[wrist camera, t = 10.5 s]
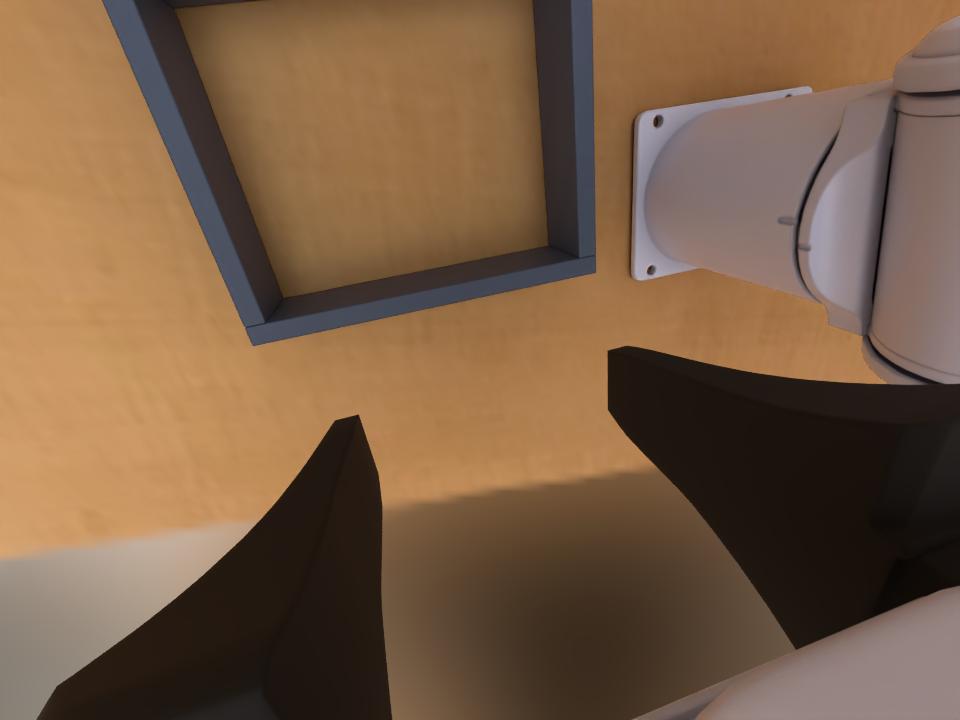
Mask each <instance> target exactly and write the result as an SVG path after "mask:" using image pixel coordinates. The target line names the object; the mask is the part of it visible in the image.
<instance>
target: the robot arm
mask: <svg viewBox="0 0 960 720" xmlns="http://www.w3.org/2000/svg"><path fill="white" fill-rule="evenodd" d="M655 117H657V118H658V125H657V126H656V127H655V126H654V124H653V121H654V118H655ZM649 266H651V270H650V272H649V273H647V269H648V267H649ZM698 268H703V269H706V270H709V271H713V272H716V273H720V274H723V275H726V276H730V277H733V278H736V279H740V280H743V281H746V282H750V283H753V284H757V285H760V286H763V287H767V288H770V289H773V290H777V291H780V292H784V293H787V294H790V295H794V296H797V297H800V298H804V299H807V300H811V301H814V302H817V303H821V304H823V305H824V306H825V307H826V309H827V312H828V323H829V325H831V326H834V327H837V328H840V329H843V330H846V331H849V332H852V333H855V334H858V335H861V336H863V339H862V347H861V350H862V354H863V357H864V360H865V362H866V363H867V365H868V366H869V368H870V369H871V370H872V371H873V372H874V373H875V374H876V375H877V376H879V377H880V378H881V379H883V380H884V381H886V382H887V383H889V384H861V383H841V382H828V381H815V380H804V379H795V378H787V377H780V376H772V375H765V374H758V373H752V372H746V371H741V370H736V369H731V368H726V367H721V366H716V365H712V364H707V363H703V362H698V361H694V360H690V359H686V358H682V357H678V356H674V355H670V354H665V353H661V352H657V351H653V350H648V349H644V348H638V347H632V346H624V347H620V348H616V349H612V350H609V351H608V410H609V412H610V413H611V415H612V416H613V418H614V419H615V420H616V422H617V423H618V425H619V426H620V427H621V429H622V430H623V431H624V433H625V434H626V435H627V436H628V437H629V439H630V440H631V441H632V442H633V443H634V444H635V445H636V446H637V447H638V448H639V449H640V450H641V451H642V452H643V453H644V454H645V455H646V456H647V457H648V458H649V459H650V460H651V461H652V462H653V463H654V464H655V465H656V467H657V468H658V469H659V470H660V471H661V472H662V473H663V474H664V475H666V477H667V478H668V479H669V480H670V481H671V482H672V483H673V484H674V485H675V486H676V487H677V488H678V489H679V490H680V491H681V492H682V493H683V494H684V496H685V497H686V498H687V499H688V500H689V501H690V502H691V503H692V505H693V506H694V507H695V508H696V509H697V511H698V512H699V513H700V514H701V516H702V517H703V518H704V519H705V521H706V522H707V523H708V524H709V526H710V527H711V528H712V530H713V531H714V532H715V534H716V535H717V536H718V537H719V539H720V540H721V542H722V543H723V544H724V546H725V547H726V548H727V550H728V551H729V552H730V553H731V555H732V556H733V558H734V559H735V560H736V562H737V563H738V564H739V566H740V567H741V569H742V570H743V571H744V573H745V574H746V576H747V577H748V579H749V580H750V581H751V583H752V584H753V585H754V587H755V589H756V590H757V591H758V593H759V594H760V596H761V597H762V599H763V600H764V601H765V603H766V604H767V606H768V607H769V609H770V610H771V612H772V613H773V615H774V616H775V618H776V620H777V621H778V623H779V624H780V626H781V627H782V629H783V630H784V632H785V633H786V635H787V637H788V638H789V640H790V641H791V643H792V644H793V646H794V647H795V649H796V650H795V651H793V652H790V653H788V654H786V655H783V656H781V657H779V658H776V659H774V660H772V661H770V662H767V663H765V664H762V665H760V666H758V667H755V668H753V669H750V670H748V671H746V672H743V673H741V674H739V675H736V676H734V677H732V678H729V679H727V680H724V681H722V682H720V683H718V684H715V685H713V686H710V687H708V688H706V689H703V690H701V691H699V692H696V693H694V694H692V695H689V696H687V697H685V698H682V699H680V700H677V701H675V702H673V703H670V704H668V705H666V706H663V707H661V708H659V709H656V710H654V711H652V712H649V713H647V714H644V715H642V716H640V717H637V718H635V719H633V720H960V15H958V16H956V17H954V18H952V19H950V20H947V21H945V22H943V23H942V24H940V25H938V26H937V27H935V28H934V29H933V30H932V31H931V32H930V33H929V34H928V35H927V36H926V37H925V38H924V39H923V40H922V41H921V42H920V43H919V44H918V45H917V46H916V47H915V48H914V49H913V50H912V51H910V52H908V53H906V54H905V55H904V56H903V57H902V58H901V59H900V60H899V61H898V62H897V64H896V66H895V72H894V78H892V79H886V80H880V81H875V82H869V83H864V84H858V85H852V86H847V87H841V88H836V89H830V90H824V91H819V92H813V91H812V88H810V87H809V86H804V87H798V88H791V89H785V90H778V91H772V92H765V93H759V94H752V95H746V96H739V97H733V98H726V99H720V100H713V101H707V102H700V103H694V104H687V105H681V106H674V107H668V108H661V109H655V110H648V111H644V112H642V113H640V114H639V115H638V116H637V118H636V120H635V125H634V163H633V203H632V244H631V276H632V277H633V279H635V280H638V281H644V280H648V279H653V278H658V277H662V276H667V275H671V274H676V273H680V272H685V271H689V270H694V269H698ZM381 566H382V500H381V491H380V482H379V474H378V471H377V468H376V465H375V462H374V459H373V456H372V453H371V450H370V447H369V444H368V441H367V438H366V435H365V432H364V429H363V426H362V423H361V420H360V417H359V415H355V416H351V417H347V418H343V419H339V420H335V421H334V423H333V424H332V426H331V427H330V429H329V430H328V432H327V433H326V435H325V436H324V438H323V439H322V441H321V442H320V444H319V445H318V447H317V448H316V450H315V451H314V453H313V454H312V456H311V457H310V459H309V460H308V461H307V463H306V464H305V466H304V467H303V469H302V470H301V471H300V473H299V474H298V475H297V476H296V478H295V479H294V480H293V482H292V483H291V484H290V485H289V487H288V488H287V489H286V491H285V492H284V493H283V494H282V496H281V497H280V498H279V499H278V501H277V502H276V503H275V504H274V505H273V506H272V508H271V509H270V510H269V511H268V512H267V513H266V514H265V516H264V517H263V518H262V519H261V520H260V521H259V522H258V523H257V524H256V525H255V526H254V527H253V528H252V529H251V530H250V531H249V532H248V534H247V535H246V536H245V537H244V538H243V539H242V540H241V541H240V542H238V543H237V544H236V545H235V546H234V547H233V548H232V549H231V550H230V551H229V552H228V553H227V554H226V555H224V556H223V557H222V558H221V559H220V560H219V561H218V562H217V563H216V564H215V565H214V566H213V567H212V568H211V569H209V570H208V571H207V572H206V573H205V574H204V575H203V576H202V577H201V578H199V579H198V580H197V581H196V582H195V583H194V584H192V585H191V586H190V587H189V588H188V589H186V590H185V591H184V592H183V593H182V594H180V595H179V596H178V597H177V598H176V599H174V600H173V601H172V602H171V603H170V604H168V605H167V606H166V607H164V608H163V609H162V610H161V611H160V612H158V613H157V614H156V615H154V616H153V617H152V618H151V619H150V620H148V621H147V622H145V623H144V624H143V625H141V626H140V627H139V628H137V629H136V630H135V631H134V632H132V633H131V634H129V635H128V636H127V637H125V638H124V639H123V640H121V641H120V642H118V643H117V644H116V645H114V646H113V647H111V648H110V649H109V650H107V651H106V652H105V653H103V654H102V655H100V656H99V657H98V658H96V659H95V660H94V661H92V662H91V663H90V664H88V665H87V666H85V667H84V668H82V669H81V670H80V671H78V672H77V673H75V674H74V675H73V676H71V677H70V678H68V679H67V680H65V681H64V682H62V683H61V684H60V685H58V686H57V687H56V689H55V690H54V692H53V693H52V695H51V697H50V698H49V700H48V701H47V703H46V705H45V706H44V708H43V710H42V712H41V713H40V715H39V716H38V718H37V720H392V714H391V704H390V694H389V684H388V673H387V663H386V653H385V641H384V630H383V617H382V603H381V602H382V600H381Z"/></svg>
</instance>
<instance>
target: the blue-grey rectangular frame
mask: <svg viewBox="0 0 960 720" xmlns="http://www.w3.org/2000/svg"><path fill="white" fill-rule="evenodd" d="M242 1H252V0H102V2H103V4H104V6H105V8H106V11H107V13H108V15H109V18H110V20H111V22H112V24H113V27H114V29H115V31H116V34H117V36H118V38H119V41H120V43H121V45H122V47H123V50H124V52H125V54H126V57H127V59H128V61H129V63H130V66H131V68H132V70H133V73H134V75H135V77H136V80H137V82H138V84H139V86H140V89H141V91H142V93H143V96H144V98H145V100H146V102H147V105H148V107H149V109H150V112H151V114H152V116H153V119H154V121H155V123H156V125H157V128H158V130H159V132H160V135H161V137H162V139H163V141H164V144H165V146H166V148H167V151H168V153H169V155H170V157H171V160H172V162H173V164H174V167H175V169H176V171H177V174H178V176H179V178H180V180H181V183H182V185H183V187H184V190H185V192H186V194H187V196H188V199H189V201H190V203H191V206H192V208H193V210H194V213H195V215H196V217H197V219H198V222H199V224H200V226H201V229H202V231H203V233H204V235H205V238H206V240H207V242H208V245H209V247H210V249H211V252H212V254H213V256H214V258H215V261H216V263H217V265H218V268H219V270H220V272H221V274H222V277H223V279H224V281H225V284H226V286H227V288H228V291H229V293H230V295H231V297H232V300H233V302H234V304H235V307H236V309H237V311H238V313H239V316H240V318H241V320H242V323H243V325H244V327H246V328H245V329H246V332H247V334H248V336H249V339H250V341H251V343H252V345H253V346H256V345H260V344H265V343H270V342H275V341H279V340H284V339H289V338H293V337H298V336H303V335H307V334H312V333H317V332H321V331H326V330H331V329H335V328H340V327H345V326H349V325H354V324H359V323H363V322H368V321H373V320H377V319H382V318H387V317H391V316H396V315H401V314H405V313H410V312H415V311H419V310H424V309H429V308H433V307H438V306H443V305H447V304H452V303H457V302H461V301H466V300H471V299H475V298H480V297H485V296H489V295H494V294H499V293H503V292H508V291H513V290H518V289H522V288H527V287H532V286H536V285H541V284H546V283H550V282H555V281H560V280H564V279H569V278H574V277H578V276H583V275H588V274H592V273H596V256H595V255H596V234H595V164H594V94H593V24H592V0H533V10H534V25H535V40H536V55H537V71H538V86H539V101H540V117H541V132H542V147H543V163H544V178H545V193H546V209H547V224H548V239H549V245H550V246H545V247H540V248H535V249H530V250H525V251H520V252H515V253H510V254H505V255H500V256H495V257H490V258H485V259H480V260H475V261H470V262H465V263H460V264H455V265H450V266H445V267H440V268H435V269H430V270H425V271H420V272H415V273H410V274H405V275H400V276H395V277H390V278H385V279H380V280H375V281H370V282H365V283H360V284H355V285H350V286H345V287H340V288H335V289H330V290H325V291H320V292H315V293H310V294H305V295H300V296H295V297H290V298H285V299H283V296H282V294H281V291H280V289H279V286H278V283H277V281H276V278H275V275H274V273H273V270H272V267H271V265H270V262H269V259H268V257H267V254H266V251H265V249H264V246H263V243H262V241H261V238H260V235H259V233H258V230H257V227H256V225H255V222H254V219H253V217H252V214H251V212H250V209H249V206H248V204H247V201H246V198H245V196H244V193H243V190H242V188H241V185H240V182H239V180H238V177H237V174H236V172H235V169H234V166H233V164H232V161H231V158H230V156H229V153H228V150H227V148H226V145H225V142H224V140H223V137H222V135H221V132H220V129H219V127H218V124H217V121H216V119H215V116H214V113H213V111H212V108H211V105H210V103H209V100H208V97H207V95H206V92H205V89H204V87H203V84H202V81H201V79H200V76H199V73H198V71H197V68H196V66H195V63H194V60H193V58H192V55H191V52H190V50H189V47H188V44H187V42H186V39H185V36H184V34H183V31H182V28H181V26H180V23H179V20H178V18H177V15H176V12H175V10H174V9H173V8H179V7H189V6H200V5H210V4H221V3H231V2H242Z"/></svg>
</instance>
